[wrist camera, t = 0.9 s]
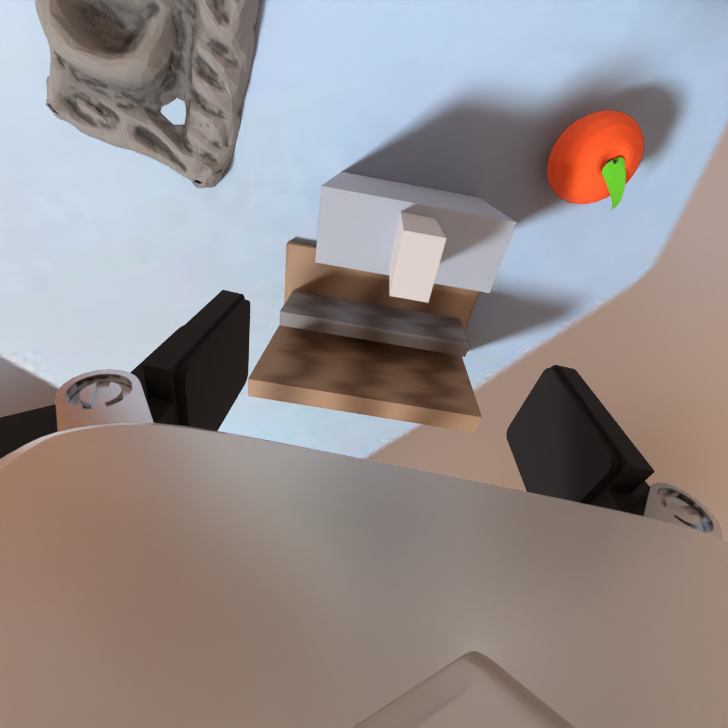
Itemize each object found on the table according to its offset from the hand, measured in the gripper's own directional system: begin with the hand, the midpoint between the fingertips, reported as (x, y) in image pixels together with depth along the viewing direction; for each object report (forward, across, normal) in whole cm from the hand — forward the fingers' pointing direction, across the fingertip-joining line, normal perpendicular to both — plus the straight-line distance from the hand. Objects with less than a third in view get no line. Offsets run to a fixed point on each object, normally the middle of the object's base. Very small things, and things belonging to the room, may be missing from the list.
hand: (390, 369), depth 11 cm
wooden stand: (+30, -1, +11) cm, 32 cm away
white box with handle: (+30, -2, 0) cm, 30 cm away
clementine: (+30, -16, -7) cm, 35 cm away
